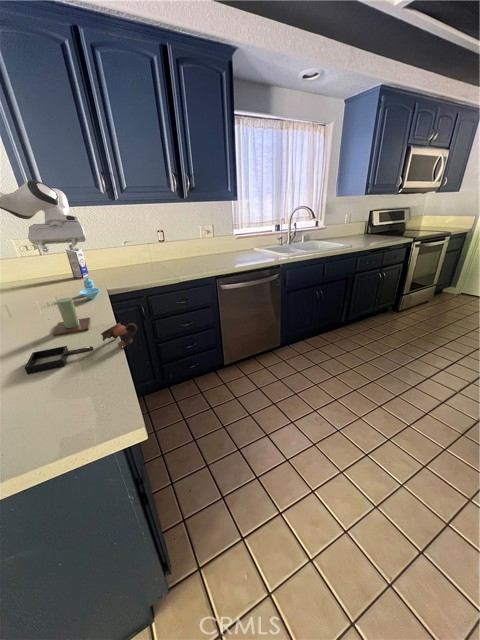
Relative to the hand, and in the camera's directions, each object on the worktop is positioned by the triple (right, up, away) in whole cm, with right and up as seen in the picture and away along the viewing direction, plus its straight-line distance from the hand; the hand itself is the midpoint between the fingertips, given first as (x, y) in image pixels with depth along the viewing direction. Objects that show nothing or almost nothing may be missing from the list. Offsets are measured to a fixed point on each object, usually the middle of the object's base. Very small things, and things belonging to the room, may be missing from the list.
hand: (58, 250), depth 107 cm
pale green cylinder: (+5, -31, +1) cm, 31 cm away
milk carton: (-37, +1, +77) cm, 85 cm away
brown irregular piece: (+31, -37, -11) cm, 49 cm away
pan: (+16, -41, -21) cm, 49 cm away
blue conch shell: (-8, -16, +37) cm, 41 cm away
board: (+5, -31, +1) cm, 32 cm away
